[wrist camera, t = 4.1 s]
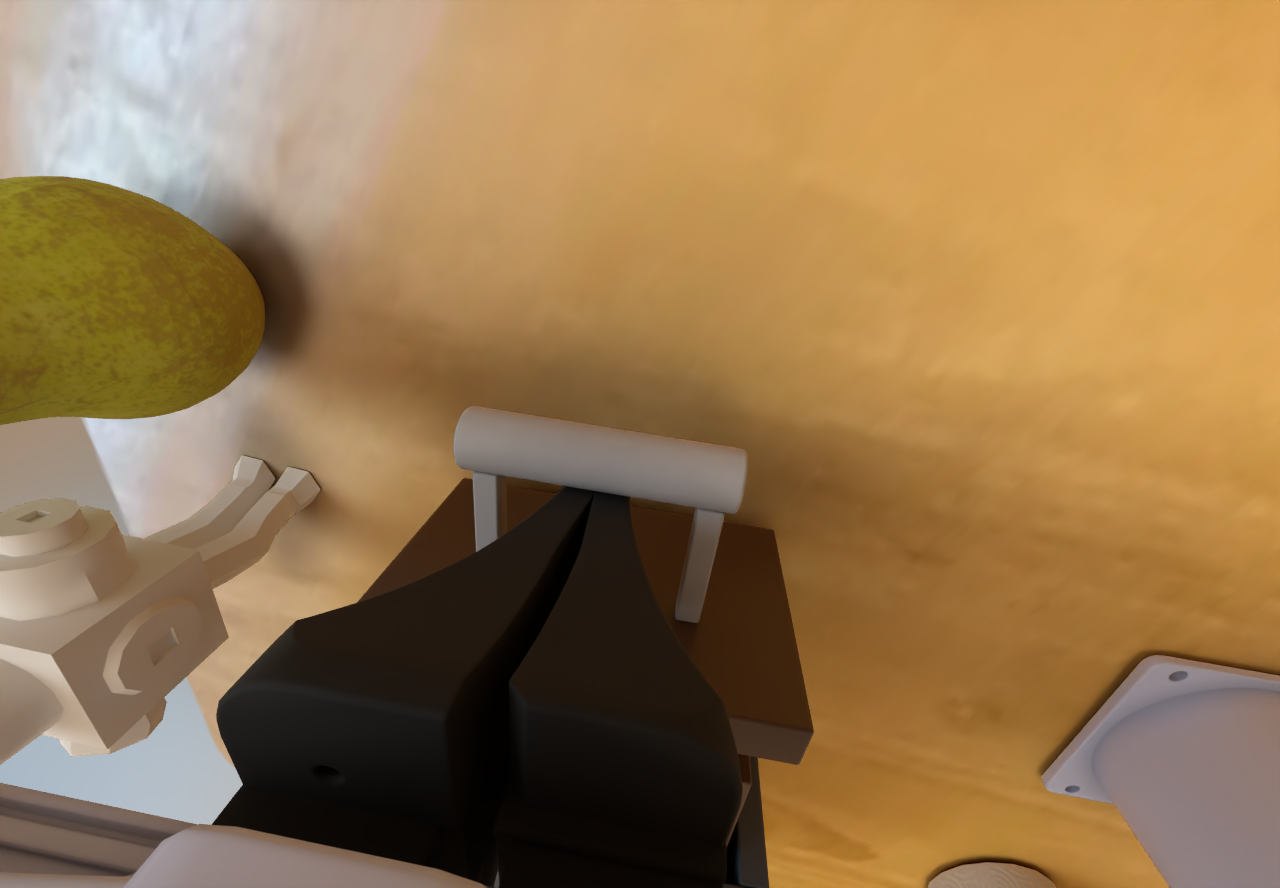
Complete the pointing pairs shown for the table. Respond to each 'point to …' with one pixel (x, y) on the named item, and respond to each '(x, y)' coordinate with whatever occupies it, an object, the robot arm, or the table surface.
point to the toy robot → (121, 608)
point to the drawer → (644, 553)
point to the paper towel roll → (991, 877)
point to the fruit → (115, 304)
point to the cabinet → (744, 842)
